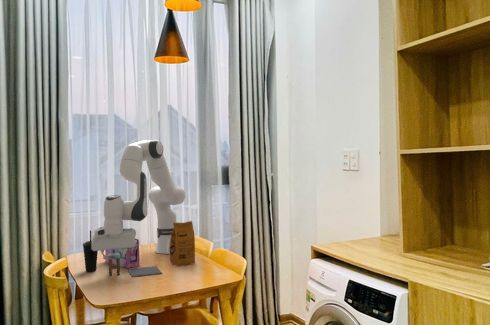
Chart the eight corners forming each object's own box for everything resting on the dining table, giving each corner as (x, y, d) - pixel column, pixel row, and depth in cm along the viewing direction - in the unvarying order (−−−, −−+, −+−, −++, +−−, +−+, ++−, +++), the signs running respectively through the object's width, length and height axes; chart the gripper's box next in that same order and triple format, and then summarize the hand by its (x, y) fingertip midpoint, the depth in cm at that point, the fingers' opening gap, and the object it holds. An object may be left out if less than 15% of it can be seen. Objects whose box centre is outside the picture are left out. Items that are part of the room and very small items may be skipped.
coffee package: (168, 262, 219) (167, 221, 219) (190, 260, 225) (189, 219, 225) (174, 267, 211) (173, 223, 211) (196, 263, 216) (196, 221, 216)
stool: (119, 272, 202) (119, 253, 202) (120, 275, 197) (120, 255, 197) (108, 273, 200) (107, 254, 200) (109, 276, 195) (108, 256, 195)
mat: (156, 267, 211) (156, 266, 211) (161, 273, 198) (161, 272, 198) (128, 270, 205) (128, 269, 205) (131, 277, 192) (131, 276, 192)
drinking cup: (102, 269, 208) (101, 229, 208) (92, 273, 201) (91, 232, 200) (90, 268, 210) (89, 229, 210) (79, 272, 203) (78, 231, 203)
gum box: (141, 266, 214) (141, 239, 214) (128, 269, 208) (127, 242, 208) (118, 259, 230) (117, 234, 230) (104, 261, 225) (104, 236, 225)
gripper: (135, 226, 205) (135, 254, 205) (91, 230, 197) (91, 259, 197) (136, 228, 199) (137, 257, 199) (91, 232, 191) (92, 262, 191)
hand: (114, 258), depth 198 cm, fingers open, 7 cm apart
